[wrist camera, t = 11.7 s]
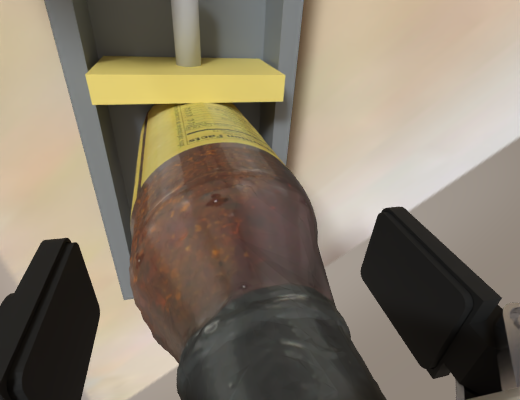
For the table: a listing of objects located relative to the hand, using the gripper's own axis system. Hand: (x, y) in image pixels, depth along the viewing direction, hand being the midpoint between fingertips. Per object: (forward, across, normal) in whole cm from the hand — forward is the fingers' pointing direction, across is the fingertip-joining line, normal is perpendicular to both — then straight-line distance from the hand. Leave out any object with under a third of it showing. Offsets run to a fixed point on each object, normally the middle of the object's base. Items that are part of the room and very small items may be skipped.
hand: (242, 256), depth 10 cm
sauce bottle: (+12, +1, 0) cm, 12 cm away
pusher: (+12, +1, -6) cm, 13 cm away
